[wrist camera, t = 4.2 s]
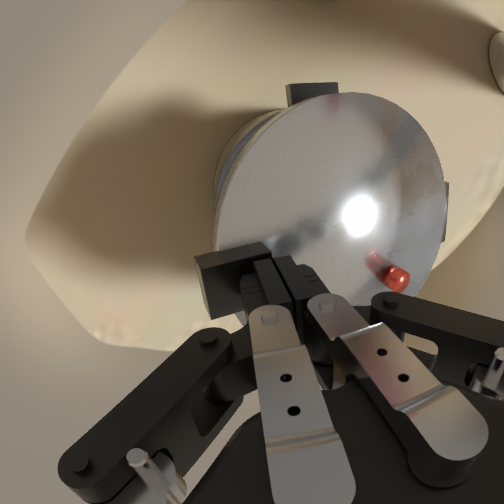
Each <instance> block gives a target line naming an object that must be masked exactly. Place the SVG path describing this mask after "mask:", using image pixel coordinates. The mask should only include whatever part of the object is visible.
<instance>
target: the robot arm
mask: <svg viewBox="0 0 504 504" xmlns="http://www.w3.org/2000/svg"><path fill="white" fill-rule="evenodd" d="M489 59H490V64H491V68H492V72H493V75H494V77H495V79H496V82H497V83H498V85H499V87H500V88H501V90H502V91H503V92H504V32H499V33H496V34H495V35H494V36H493V37H492V39H491V41H490V45H489ZM253 269H254V273H251V274H246V275H243V276H242V278H241V280H240V282H239V283H240V289H241V295H242V301H243V308H244V313H245V317H246V321H247V323H246V325H245V326H244V327H243V328H241V329H240V330H238V331H236V332H234V333H232V334H230V333H229V332H228V331H226V330H224V329H222V328H215V327H213V328H205V329H202V330H199V331H197V332H196V333H194V334H193V335H192V336H191V337H190V338H188V339H187V340H186V341H185V342H184V343H183V344H182V345H181V346H180V347H179V348H178V349H177V350H176V351H175V352H174V353H173V354H172V355H170V356H169V357H168V358H167V359H166V360H165V361H164V362H163V363H162V364H161V365H160V366H159V367H158V368H156V369H155V370H154V371H153V372H152V373H151V374H150V375H149V376H148V377H147V378H146V379H145V380H144V381H142V382H141V383H140V384H139V385H138V386H137V387H136V388H135V389H134V390H133V391H132V392H131V393H129V394H128V395H127V396H126V397H125V398H124V399H123V400H122V401H121V402H120V403H119V404H117V405H116V406H115V407H114V408H113V409H112V410H111V411H110V412H109V413H108V414H107V415H106V416H104V417H103V418H102V419H101V420H100V421H99V422H98V423H97V424H96V425H94V426H93V427H92V428H91V429H90V430H89V431H88V432H87V433H86V434H84V435H83V436H82V437H81V438H80V439H79V440H78V441H77V442H76V443H74V444H73V445H72V446H71V447H70V448H69V449H68V450H67V451H66V452H65V453H64V454H63V455H62V456H61V458H60V460H59V463H58V474H59V477H60V478H61V480H62V481H63V482H64V483H65V484H66V485H67V486H68V487H69V488H70V489H71V490H72V491H73V492H75V493H76V494H77V496H78V497H79V498H80V499H81V500H82V501H83V502H85V503H86V504H181V503H182V501H183V500H184V498H185V496H186V493H187V486H186V482H185V480H184V479H183V477H184V476H185V474H186V473H187V472H188V471H189V470H190V468H191V467H192V466H193V465H194V464H195V463H196V461H197V460H198V459H199V457H200V456H201V455H202V454H203V453H204V451H205V450H206V449H207V448H208V446H209V445H210V444H211V443H212V441H213V440H214V439H215V438H216V436H217V435H218V434H219V432H220V431H221V430H222V429H223V427H224V426H225V425H226V423H227V422H228V421H229V420H230V418H231V417H232V416H233V414H234V413H235V412H236V410H237V409H238V408H239V406H240V405H241V403H242V402H243V397H244V395H246V394H248V393H250V392H252V391H254V390H256V389H258V396H259V402H260V410H261V412H259V413H257V414H255V415H254V416H252V417H251V418H249V419H248V420H247V421H245V422H244V423H243V424H242V425H241V426H240V427H239V428H238V429H237V430H236V431H235V433H234V434H233V435H232V437H231V438H230V439H229V441H228V442H227V444H226V445H225V447H224V448H223V449H222V451H221V452H220V454H219V455H218V457H217V458H216V459H215V461H214V462H213V464H212V465H211V466H210V468H209V469H208V470H207V472H206V473H205V474H204V476H203V477H202V478H201V480H200V481H199V482H198V484H197V485H196V487H195V488H194V489H193V490H192V492H191V493H190V494H189V496H188V497H187V498H186V499H185V501H184V502H183V503H182V504H504V321H501V320H497V319H493V318H490V317H486V316H482V315H479V314H475V313H471V312H467V311H464V310H460V309H456V308H453V307H449V306H445V305H442V304H438V303H434V302H431V301H427V300H423V299H419V298H416V297H412V296H409V295H405V294H401V293H398V292H392V291H386V292H380V293H378V294H376V295H374V296H373V297H372V299H371V305H369V306H351V304H350V303H349V302H348V301H347V300H346V299H345V298H344V297H342V296H340V295H337V294H331V292H330V291H329V290H328V288H327V287H326V286H325V284H324V283H323V282H322V280H321V279H320V277H319V276H318V275H317V273H316V272H315V271H314V269H313V268H311V267H309V266H307V265H305V264H300V265H296V263H295V262H294V260H293V259H292V257H291V256H290V255H287V256H281V257H275V258H273V259H272V261H271V259H264V260H259V261H253ZM405 333H409V334H412V335H415V336H418V337H421V338H425V339H428V340H431V341H433V342H434V343H436V345H437V346H438V354H437V355H432V354H429V353H426V352H423V351H420V350H416V349H414V348H411V347H407V346H405V345H404V343H403V341H404V335H405ZM319 385H320V386H321V388H322V390H321V389H320V386H319Z"/></svg>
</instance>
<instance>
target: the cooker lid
mask: <svg viewBox="0 0 504 504" xmlns="http://www.w3.org/2000/svg"><path fill="white" fill-rule="evenodd" d="M448 195H449V182H446V181H444V176H443V171H442V167H441V164H440V161H439V157H438V155H437V153H436V150H435V148H434V146H433V144H432V142H431V140H430V139H429V137H428V135H427V133H426V132H425V131H424V129H423V128H422V127H421V126H420V124H419V123H418V122H417V121H416V120H415V119H414V118H413V117H412V116H411V115H410V114H409V113H408V112H406V111H405V110H404V109H402V108H401V107H399V106H398V105H397V104H395V103H393V102H390V101H388V100H386V99H384V98H381V97H378V96H375V95H371V94H366V93H356V92H349V93H336V94H327V95H321V96H317V97H313V98H309V99H306V100H304V101H301V102H299V103H297V104H295V105H292V106H290V107H288V108H287V109H285V110H284V111H282V112H281V113H279V114H277V115H276V116H274V117H273V118H272V119H271V120H270V121H268V122H267V123H266V124H265V125H264V126H263V127H262V128H260V129H259V130H258V131H257V132H256V134H255V135H254V136H253V137H252V138H251V139H250V141H249V142H248V143H247V144H246V145H245V147H244V148H243V150H242V151H241V153H240V154H239V156H238V157H237V159H236V161H235V162H234V164H233V165H232V167H231V170H230V172H229V174H228V176H227V178H226V180H225V183H224V185H223V188H222V191H221V194H220V198H219V201H218V204H217V208H216V214H215V220H214V226H213V252H211V253H207V254H203V255H199V256H195V257H194V259H195V264H196V269H197V273H198V278H199V282H200V287H201V291H202V296H203V300H204V304H205V307H206V309H207V311H208V313H209V316H210V318H211V320H213V319H216V318H220V317H223V316H227V315H230V314H234V313H235V315H236V316H237V318H238V319H239V321H240V322H241V324H242V325H243V326H245V325H246V323H247V321H246V317H245V313H244V308H243V301H242V295H241V289H240V283H239V282H240V280H241V278H242V276H243V275H246V274H251V273H254V269H253V261H259V260H264V259H271V261H272V259H273V258H275V257H281V256H287V255H290V256H291V257H292V259H293V260H294V262H295V263H296V265H300V264H305V265H307V266H309V267H311V268H313V269H314V271H315V272H316V273H317V275H318V276H319V277H320V279H321V280H322V282H323V283H324V284H325V286H326V287H327V288H328V290H329V291H330V292H331V294H337V295H340V296H342V297H344V298H345V299H346V300H347V301H348V302H349V303H350V304H351V306H369V305H371V299H372V297H373V296H374V295H376V294H378V293H380V292H386V291H392V292H398V293H401V294H405V295H409V296H412V297H416V295H417V294H418V292H419V291H420V289H421V287H422V285H423V284H424V282H425V281H426V279H427V277H428V275H429V273H430V271H431V269H432V266H433V264H434V261H435V259H436V256H437V253H438V250H439V247H440V244H441V242H444V241H445V234H446V224H447V211H448Z"/></svg>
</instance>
